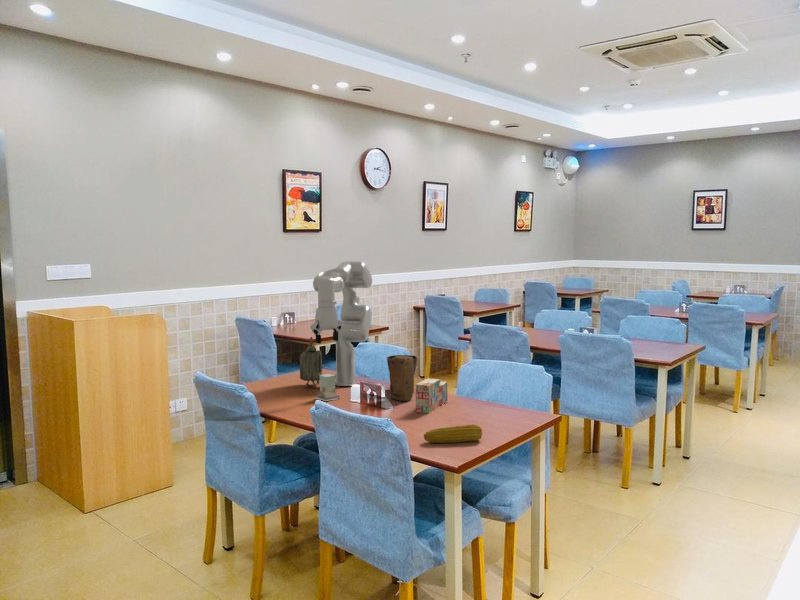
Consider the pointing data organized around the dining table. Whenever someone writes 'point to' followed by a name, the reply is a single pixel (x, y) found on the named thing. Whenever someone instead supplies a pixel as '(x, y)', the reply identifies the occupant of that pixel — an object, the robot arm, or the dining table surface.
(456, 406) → the dining table surface
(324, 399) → the blueprint pad
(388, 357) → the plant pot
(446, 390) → the stack of blocks
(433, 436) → the food
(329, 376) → the sage block
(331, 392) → the birch block
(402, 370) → the brown tapered cylinder
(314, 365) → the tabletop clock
